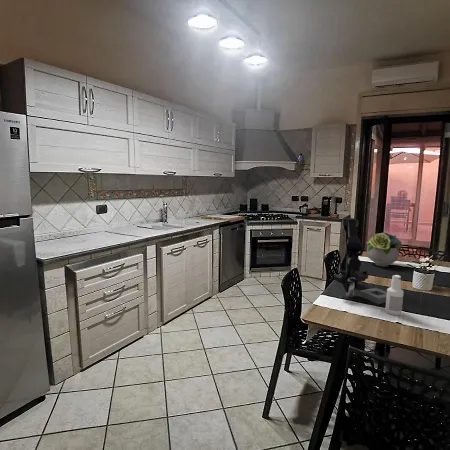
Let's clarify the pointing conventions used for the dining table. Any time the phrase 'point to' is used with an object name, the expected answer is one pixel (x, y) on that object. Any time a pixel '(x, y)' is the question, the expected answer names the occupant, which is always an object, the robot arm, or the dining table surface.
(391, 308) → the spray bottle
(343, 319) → the dining table surface
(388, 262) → the flower arrangement
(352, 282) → the peg
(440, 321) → the dining table surface
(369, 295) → the socket
